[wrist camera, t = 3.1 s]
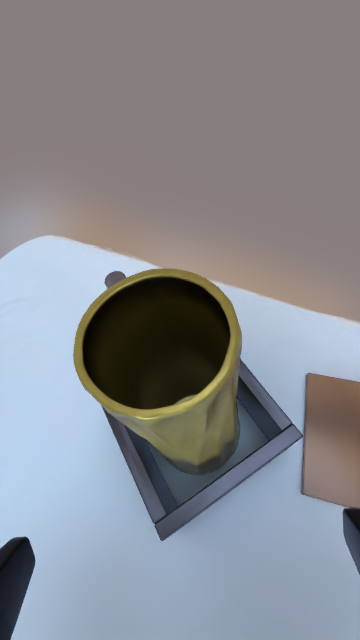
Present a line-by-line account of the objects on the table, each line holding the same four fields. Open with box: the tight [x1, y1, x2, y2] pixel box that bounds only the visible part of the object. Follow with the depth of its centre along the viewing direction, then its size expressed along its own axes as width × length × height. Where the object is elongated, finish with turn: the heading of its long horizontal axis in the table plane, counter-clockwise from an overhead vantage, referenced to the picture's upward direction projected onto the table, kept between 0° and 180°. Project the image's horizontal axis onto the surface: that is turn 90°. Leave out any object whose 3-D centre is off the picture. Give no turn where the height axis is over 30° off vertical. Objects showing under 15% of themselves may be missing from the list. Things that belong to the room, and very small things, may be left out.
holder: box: [102, 271, 303, 541], centre depth 16 cm, size 10×9×12 cm
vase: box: [73, 269, 242, 475], centre depth 15 cm, size 6×6×14 cm
